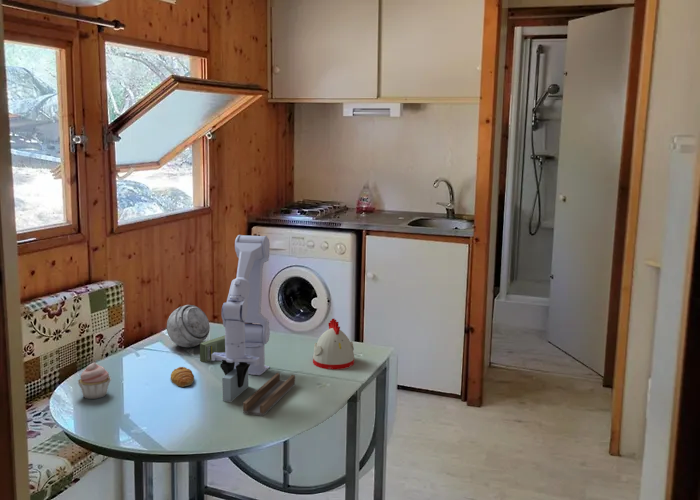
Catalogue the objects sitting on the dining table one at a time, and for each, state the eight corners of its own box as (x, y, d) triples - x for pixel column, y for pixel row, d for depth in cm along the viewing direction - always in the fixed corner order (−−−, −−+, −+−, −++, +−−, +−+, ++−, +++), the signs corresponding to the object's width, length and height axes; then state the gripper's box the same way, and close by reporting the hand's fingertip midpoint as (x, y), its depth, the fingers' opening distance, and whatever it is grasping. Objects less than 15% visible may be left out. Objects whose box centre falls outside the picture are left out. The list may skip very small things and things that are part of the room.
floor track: (243, 413, 187) (243, 402, 187) (276, 382, 210) (276, 373, 209) (263, 416, 186) (263, 405, 185) (295, 384, 208) (295, 375, 208)
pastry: (198, 386, 207) (197, 374, 206) (176, 390, 203) (175, 377, 203) (190, 376, 215) (189, 364, 214) (168, 379, 212) (168, 368, 211)
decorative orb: (191, 355, 233) (190, 313, 230) (158, 349, 239) (156, 307, 236) (217, 343, 246) (216, 303, 243) (185, 337, 252) (184, 298, 249)
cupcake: (109, 400, 194) (107, 367, 192) (75, 402, 193) (72, 368, 191) (115, 388, 203) (113, 356, 202) (82, 389, 202) (80, 357, 200)
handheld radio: (198, 361, 228) (251, 342, 248) (205, 363, 226) (257, 345, 246) (198, 342, 227) (251, 325, 246) (205, 344, 225) (258, 327, 244)
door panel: (222, 400, 195) (222, 377, 194) (240, 385, 207) (240, 363, 206) (230, 401, 195) (230, 378, 193) (248, 386, 206) (248, 364, 205)
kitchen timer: (321, 371, 220) (322, 327, 217) (307, 358, 232) (307, 315, 229) (360, 366, 225) (361, 322, 222) (344, 353, 238) (345, 312, 235)
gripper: (205, 342, 196) (207, 387, 199) (252, 348, 192) (252, 393, 195) (217, 335, 203) (218, 379, 205) (262, 340, 199) (262, 384, 201)
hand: (235, 385), depth 200 cm, fingers closed on door panel, 2 cm apart
